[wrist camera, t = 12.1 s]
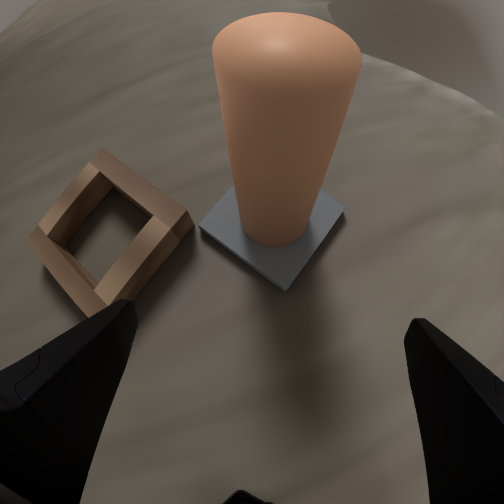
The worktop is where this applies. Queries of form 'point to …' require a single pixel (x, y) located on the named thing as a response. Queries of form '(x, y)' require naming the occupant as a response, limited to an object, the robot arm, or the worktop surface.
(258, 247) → the slate rubber pad
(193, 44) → the worktop surface
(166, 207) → the walnut socket block
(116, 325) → the robot arm
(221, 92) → the peach rounded cylinder
